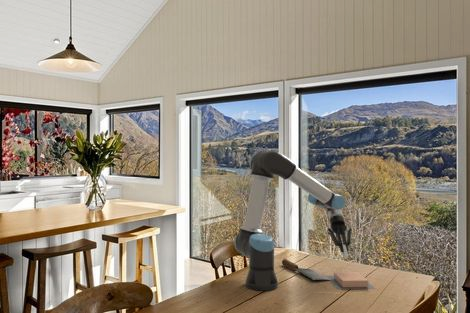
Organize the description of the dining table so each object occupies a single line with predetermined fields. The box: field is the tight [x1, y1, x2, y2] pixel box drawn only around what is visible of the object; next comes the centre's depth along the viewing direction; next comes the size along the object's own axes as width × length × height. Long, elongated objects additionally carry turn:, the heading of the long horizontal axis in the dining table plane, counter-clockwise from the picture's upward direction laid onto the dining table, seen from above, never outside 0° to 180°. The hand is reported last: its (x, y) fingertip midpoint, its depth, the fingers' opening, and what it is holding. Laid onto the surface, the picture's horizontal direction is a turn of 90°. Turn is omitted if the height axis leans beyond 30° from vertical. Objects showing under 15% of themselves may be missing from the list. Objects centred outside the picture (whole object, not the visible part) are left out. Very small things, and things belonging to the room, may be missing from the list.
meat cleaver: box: [281, 258, 332, 281], centre depth 205 cm, size 34×11×4 cm, turn 20°
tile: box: [333, 271, 369, 288], centre depth 187 cm, size 12×3×14 cm
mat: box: [325, 275, 376, 290], centre depth 189 cm, size 18×20×1 cm
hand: (346, 257), depth 194 cm, fingers closed
